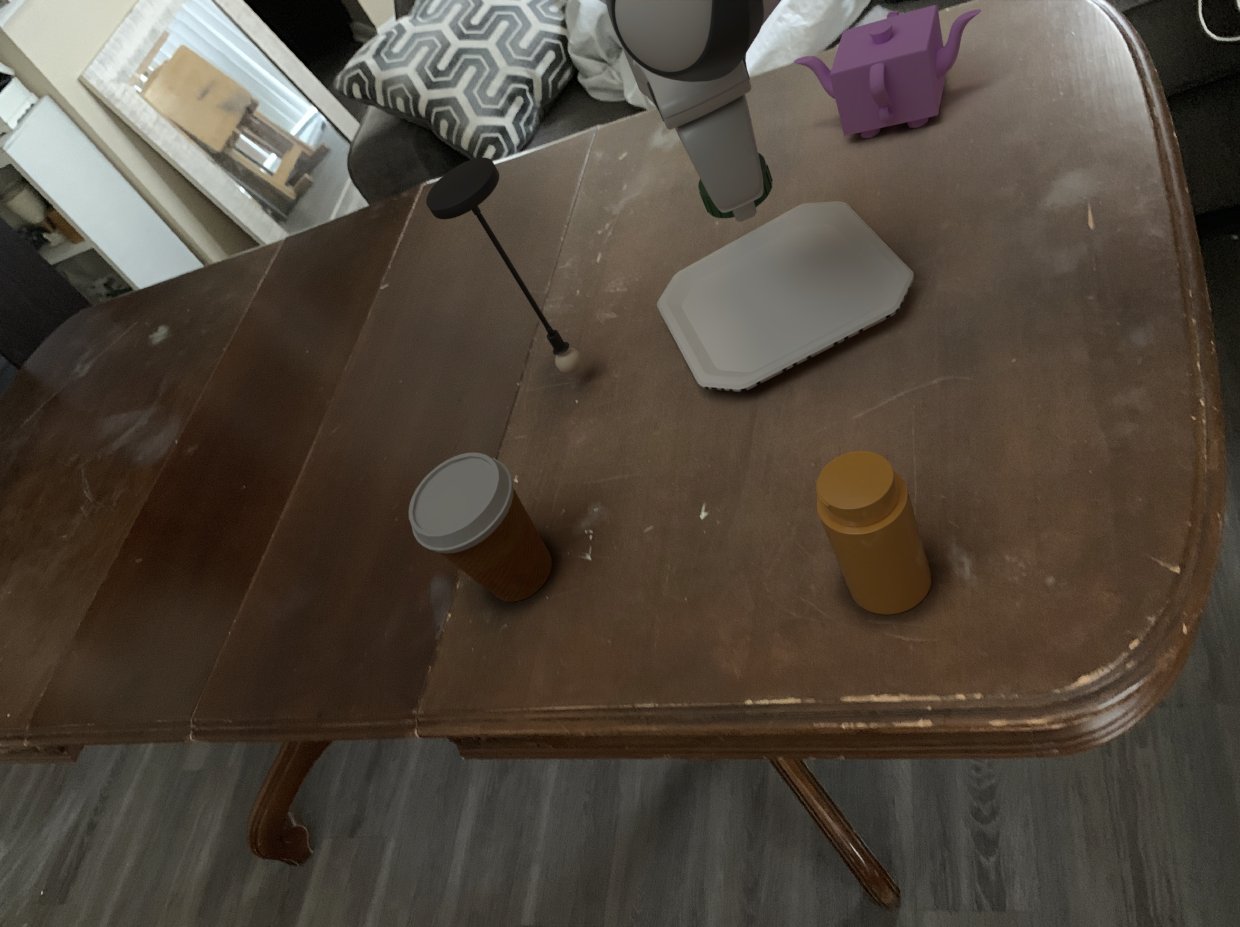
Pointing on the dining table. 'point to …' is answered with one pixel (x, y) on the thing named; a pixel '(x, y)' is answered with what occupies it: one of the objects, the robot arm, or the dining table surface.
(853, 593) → the jar
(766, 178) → the lid
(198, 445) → the dining table surface
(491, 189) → the light fixture
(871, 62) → the teapot
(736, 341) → the plate
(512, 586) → the disposable coffee cup
